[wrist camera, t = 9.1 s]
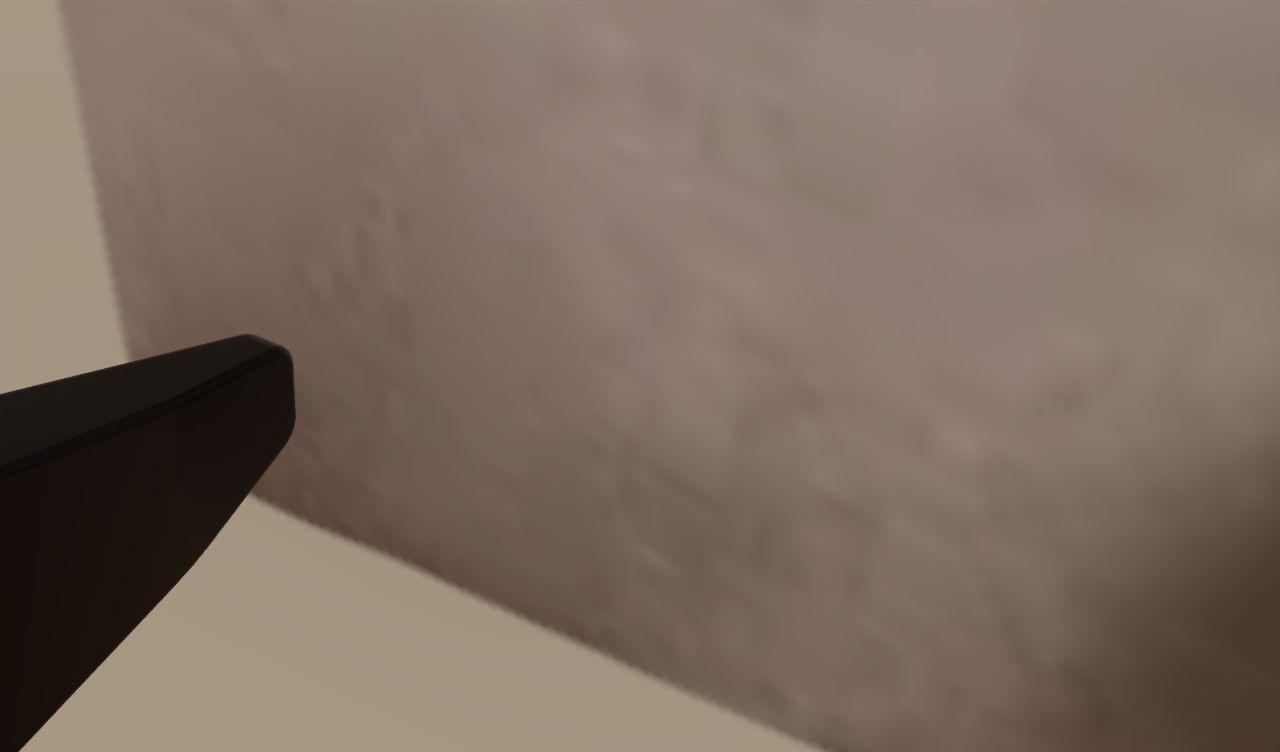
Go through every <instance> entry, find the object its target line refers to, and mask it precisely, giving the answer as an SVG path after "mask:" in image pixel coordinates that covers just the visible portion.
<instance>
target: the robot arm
mask: <svg viewBox="0 0 1280 752" xmlns="http://www.w3.org/2000/svg"><path fill="white" fill-rule="evenodd" d="M295 420H296V408H295V388H294V368H293V359H292V356H291V354H290V353H289V351H288V350H287V349H286V348H285V347H283V346H281V345H278V344H276V343H273V342H271V341H269V340H266V339H264V338H261V337H259V336H257V335H252V334H244V335H239V336H235V337H231V338H227V339H223V340H219V341H215V342H210V343H206V344H202V345H198V346H194V347H190V348H186V349H182V350H178V351H174V352H170V353H166V354H162V355H158V356H154V357H150V358H145V359H141V360H137V361H133V362H129V363H125V364H121V365H117V366H113V367H109V368H105V369H101V370H97V371H93V372H89V373H84V374H80V375H76V376H72V377H69V378H64V379H60V380H56V381H52V382H48V383H44V384H40V385H36V386H32V387H28V388H24V389H19V390H15V391H11V392H7V393H3V394H0V752H19V751H20V750H21V749H22V748H23V747H24V746H25V745H26V743H27V742H28V741H29V740H30V739H31V738H32V737H33V736H34V735H35V734H36V733H37V732H38V731H39V730H40V729H41V727H42V726H43V725H44V724H45V723H46V722H47V721H48V720H49V719H50V718H51V717H52V716H53V715H54V714H55V713H56V712H57V710H58V709H59V708H60V707H61V706H62V705H63V704H64V703H65V702H66V701H67V700H68V699H69V698H70V697H71V696H72V695H73V694H74V692H75V691H76V690H77V689H78V688H79V687H80V686H81V685H82V684H83V683H84V682H85V680H87V679H88V678H89V677H90V675H91V674H92V673H93V672H94V671H95V670H96V669H97V668H98V667H99V666H100V665H101V664H102V663H103V661H105V660H106V658H107V657H108V656H109V655H110V654H111V653H112V652H113V651H114V650H115V649H116V648H117V647H118V646H119V644H121V643H122V641H123V640H124V639H125V638H126V637H127V636H128V635H129V634H130V633H131V632H132V631H133V630H134V629H135V628H136V627H137V625H138V624H139V623H140V622H141V621H142V620H143V619H144V618H145V617H146V616H147V615H148V614H149V613H150V612H151V610H153V608H154V607H155V606H156V605H157V604H158V603H159V602H160V601H161V600H162V599H163V598H164V597H165V596H166V595H167V594H168V592H169V591H170V590H171V589H172V588H173V587H174V586H175V585H176V584H177V583H178V582H179V581H180V579H181V578H182V577H183V576H184V575H185V574H186V573H187V572H188V571H189V569H190V568H191V567H192V566H193V565H194V564H195V563H196V561H197V560H198V559H199V557H200V556H201V555H202V554H203V553H204V551H205V550H206V549H207V548H208V547H209V545H210V544H211V543H212V541H213V540H214V539H215V537H216V536H217V535H218V533H219V532H220V531H221V529H222V528H223V527H224V525H225V524H226V523H227V521H228V520H229V519H230V517H231V516H232V515H233V513H234V512H235V511H236V510H237V508H238V507H239V506H240V504H241V503H242V502H243V500H244V499H245V498H246V496H247V495H248V494H249V493H250V491H251V490H252V489H253V487H254V486H255V485H256V483H257V482H258V481H259V479H260V478H261V477H262V475H263V474H264V473H265V471H266V470H267V469H268V467H269V466H270V465H271V463H272V462H273V461H274V460H275V458H276V457H277V456H278V454H279V453H280V452H281V450H282V449H283V448H284V446H285V445H286V443H287V442H288V440H289V438H290V436H291V434H292V432H293V429H294V425H295Z"/></svg>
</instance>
